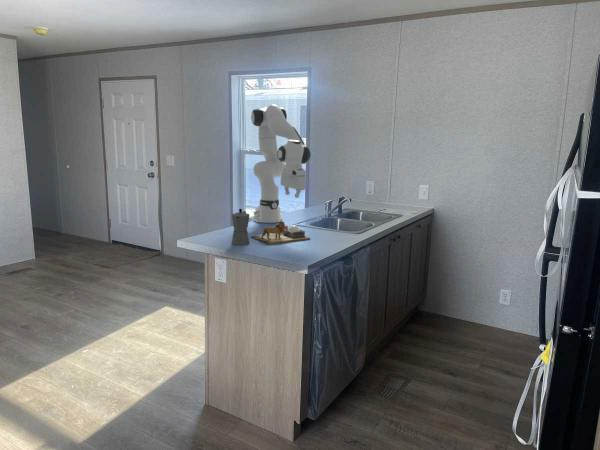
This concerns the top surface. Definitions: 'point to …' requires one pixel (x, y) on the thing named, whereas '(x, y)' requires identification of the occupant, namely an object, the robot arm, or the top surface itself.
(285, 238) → the wooden cutting board
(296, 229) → the dome
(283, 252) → the top surface
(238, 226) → the coffeepot
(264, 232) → the lion figurine
